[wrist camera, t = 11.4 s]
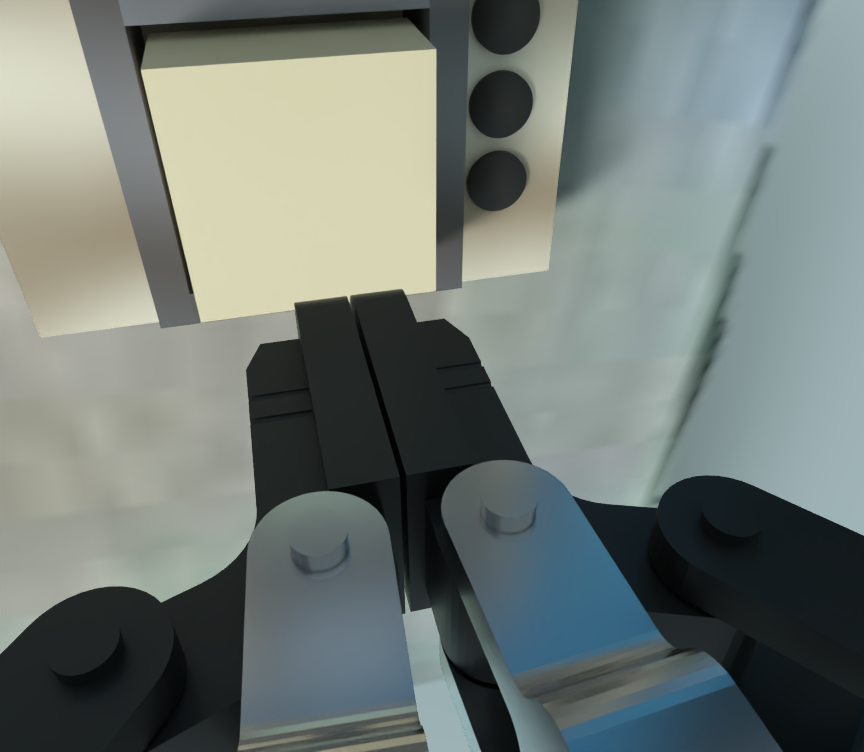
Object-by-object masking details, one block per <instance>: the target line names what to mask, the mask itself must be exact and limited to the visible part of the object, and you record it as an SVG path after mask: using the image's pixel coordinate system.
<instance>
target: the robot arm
mask: <svg viewBox="0 0 864 752" xmlns="http://www.w3.org/2000/svg"><path fill="white" fill-rule="evenodd" d="M294 307H295V315H296V322H297V330H298V337H299V339H295V340H287V341H280V342H273V343H265V344H260V346H259V348H258V349H257V351H256V353H255V355H254V357H253V358H252V360H251V362H250V364H249V366H248V367H247V369H246V373H247V387H248V398H249V413H250V422H251V425H250V426H251V440H252V453H253V466H254V479H255V493H256V506H257V520H256V524H255V528H254V531H253V533H252V535H251V538H250V540H249V542H248V543H247V545H246V547H245V548H244V550H243V551H242V552H241V553H240V554H239V556H238V557H237V558H236V559H235V560H234V561H233V562H232V563H231V564H230V565H228V566H227V567H226V568H225V569H224V570H222V571H221V572H219V573H218V574H217V575H215V576H214V577H212V578H210V579H208V580H207V581H205V582H203V583H201V584H199V585H197V586H195V587H193V588H191V589H189V590H187V591H185V592H182V593H180V594H178V595H176V596H174V597H172V598H170V599H168V600H166V601H164V602H162V603H161V602H160V601H159V600H157V599H156V598H155V597H154V596H152V595H150V594H148V593H147V592H144V591H141V590H138V589H135V588H129V587H104V588H97V589H93V590H89V591H86V592H82V593H79V594H77V595H75V596H72V597H70V598H67V599H66V600H64V601H62V602H60V603H58V604H57V605H55V606H53V607H52V608H50V609H49V610H47V611H46V612H45V613H43V614H42V615H41V616H39V617H38V618H37V619H36V620H35V621H34V622H33V623H32V624H30V625H29V626H28V627H27V628H26V629H25V630H24V631H23V632H22V633H21V634H20V635H19V636H18V637H17V638H16V639H15V640H14V641H13V642H12V643H11V644H10V645H9V646H8V647H7V648H6V649H5V650H4V651H3V652H2V653H1V654H0V752H429V751H428V746H427V742H426V737H425V733H424V729H423V727H422V726H421V725H420V722H419V717H418V712H417V706H416V700H415V694H414V688H413V681H412V675H411V668H410V662H409V655H408V649H407V642H406V636H405V630H404V623H403V617H402V614H405V593H404V588H405V592H406V596H407V600H408V603H409V607H410V611H411V612H412V611H417V610H422V609H426V608H431V607H432V611H433V614H434V618H435V621H436V625H437V628H438V632H439V635H440V665H441V669H442V673H443V675H444V678H445V681H446V684H447V686H448V689H449V692H450V694H451V697H452V700H453V703H454V706H455V709H456V711H457V714H458V717H459V719H460V722H461V725H462V728H463V731H464V733H465V736H466V739H467V741H468V745H469V747H470V750H471V752H864V536H863V535H861V534H858V533H856V532H854V531H852V530H850V529H848V528H845V527H843V526H841V525H839V524H837V523H834V522H832V521H830V520H828V519H826V518H823V517H821V516H819V515H816V514H814V513H812V512H810V511H808V510H805V509H803V508H801V507H799V506H797V505H795V504H792V503H790V502H788V501H786V500H784V499H781V498H779V497H777V496H775V495H773V494H770V493H768V492H766V491H764V490H761V489H759V488H757V487H755V486H753V485H750V484H747V483H745V482H742V481H739V480H735V479H732V478H727V477H721V476H695V477H691V478H687V479H684V480H682V481H679V482H677V483H676V484H674V485H672V486H671V487H669V489H668V490H667V491H666V492H665V493H664V494H663V496H662V498H661V500H660V502H659V505H658V508H648V507H636V506H623V505H611V504H602V503H594V502H590V501H586V500H582V499H579V498H577V497H574V496H572V495H571V494H570V492H569V491H568V489H567V488H566V487H565V486H564V484H563V483H562V482H560V481H559V480H558V479H557V478H556V477H555V476H553V475H552V474H550V473H549V472H547V471H545V470H543V469H541V468H539V467H537V466H534V465H532V463H531V461H530V460H529V458H528V456H527V454H526V452H525V450H524V448H523V446H522V444H521V441H520V439H519V437H518V435H517V433H516V431H515V429H514V427H513V425H512V423H511V421H510V419H509V417H508V415H507V413H506V411H505V409H504V407H503V405H502V403H501V401H500V399H499V397H498V395H497V393H496V391H495V389H494V387H491V381H490V379H489V377H488V375H487V373H486V371H485V369H484V367H483V366H481V361H480V359H479V357H478V355H477V353H476V351H475V349H474V347H473V345H472V343H471V341H470V339H469V337H467V336H466V335H465V334H464V333H462V332H461V331H460V330H458V329H457V328H456V327H454V326H453V325H452V324H450V323H449V322H448V321H446V320H445V319H439V320H431V321H424V322H417V321H416V319H415V316H414V314H413V311H412V309H411V307H410V304H409V302H408V299H407V297H406V294H405V292H404V291H403V289H396V290H388V291H380V292H372V293H364V294H357V295H351V296H350V304H349V301H348V298H347V296H342V297H335V298H327V299H319V300H311V301H303V302H296V303H294Z"/></svg>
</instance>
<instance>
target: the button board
mask: <svg viewBox="0 0 864 752" xmlns="http://www.w3.org/2000/svg"><path fill="white" fill-rule="evenodd" d="M577 8H578V0H0V239H1V242H2V244H3V247H4V249H5V252H6V254H7V256H8V259H9V261H10V264H11V266H12V269H13V271H14V274H15V276H16V278H17V281H18V283H19V286H20V288H21V291H22V293H23V296H24V298H25V300H26V303H27V305H28V308H29V310H30V313H31V315H32V318H33V320H34V322H35V325H36V327H37V330H38V332H39V335H40V337H41V338H42V337H50V336H57V335H65V334H72V333H80V332H87V331H95V330H102V329H110V328H117V327H125V326H132V325H140V324H147V323H155V322H159V323H160V327H161V328H167V327H175V326H182V325H189V324H197V323H201V321H200V316H199V312H198V308H197V304H196V300H195V296H194V291H193V287H192V283H191V279H190V275H189V270H188V266H187V262H186V258H185V254H184V249H183V245H182V241H181V237H180V233H179V228H178V224H177V220H176V216H175V212H174V208H173V203H172V199H171V195H170V191H169V187H168V182H167V178H166V174H165V170H164V166H163V161H162V157H161V153H160V149H159V145H158V140H157V136H156V132H155V128H154V124H153V120H152V115H151V111H150V107H149V103H148V99H147V94H146V90H145V86H144V82H143V78H142V73H141V66H142V61H143V56H144V51H145V46H146V41H147V36H148V33H162V32H178V31H194V30H211V29H227V28H243V27H260V26H276V25H292V24H309V23H325V22H341V21H358V20H374V19H391V18H408V19H409V20H410V21H411V22H412V23H413V24H414V26H415V27H416V28H417V29H418V30H419V31H420V32H421V33H422V34H423V35H424V36H425V37H426V38H427V39H428V41H429V42H430V43H431V44H432V45H433V46H434V47H435V48H436V291H442V290H449V289H457V288H462V282H463V281H471V280H478V279H486V278H493V277H501V276H508V275H516V274H523V273H531V272H538V271H546V270H548V268H549V259H550V250H551V241H552V232H553V223H554V214H555V205H556V196H557V187H558V178H559V169H560V160H561V151H562V142H563V133H564V124H565V115H566V106H567V97H568V88H569V79H570V70H571V61H572V53H573V44H574V35H575V26H576V17H577ZM432 292H435V291H432ZM425 293H427V292H425ZM417 294H420V293H417ZM410 295H412V294H410ZM291 311H293V310H291ZM283 312H286V311H283ZM276 313H279V312H276ZM269 314H271V313H269ZM261 315H264V314H261ZM254 316H256V315H254ZM246 317H249V316H246ZM239 318H241V317H239ZM231 319H234V318H231ZM224 320H227V319H224ZM217 321H219V320H217ZM209 322H212V321H209ZM202 323H204V322H202Z"/></svg>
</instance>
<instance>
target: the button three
mask: <svg viewBox="0 0 864 752" xmlns="http://www.w3.org/2000/svg"><path fill="white" fill-rule="evenodd" d="M141 73H142V78H143V82H144V86H145V90H146V94H147V99H148V103H149V107H150V111H151V115H152V120H153V124H154V128H155V132H156V136H157V140H158V145H159V149H160V153H161V157H162V161H163V166H164V170H165V174H166V178H167V182H168V187H169V191H170V195H171V199H172V203H173V208H174V212H175V216H176V220H177V224H178V228H179V233H180V237H181V241H182V245H183V249H184V254H185V258H186V262H187V266H188V270H189V275H190V279H191V283H192V287H193V291H194V296H195V300H196V304H197V308H198V312H199V316H200V321H201V323H202V322H209V321H217V320H224V319H231V318H239V317H246V316H254V315H261V314H269V313H276V312H283V311H291V310H295V307H294V303H296V302H303V301H311V300H319V299H327V298H335V297H342V296H347V298H348V301H349V303H350V296H351V295H357V294H364V293H372V292H380V291H388V290H396V289H403V291H404V292H405V294H406V295H410V294H417V293H425V292H432V291H436V48H435V47H434V46H433V45H432V44H431V43H430V42H429V41H428V39H427V38H426V37H425V36H424V35H423V34H422V33H421V32H420V31H419V30H418V29H417V28H416V27H415V26H414V24H413V23H412V22H411V21H410V20H409V19H408V18H391V19H374V20H358V21H341V22H325V23H309V24H292V25H276V26H260V27H243V28H227V29H211V30H194V31H178V32H162V33H148V36H147V41H146V46H145V51H144V56H143V61H142V66H141Z"/></svg>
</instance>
